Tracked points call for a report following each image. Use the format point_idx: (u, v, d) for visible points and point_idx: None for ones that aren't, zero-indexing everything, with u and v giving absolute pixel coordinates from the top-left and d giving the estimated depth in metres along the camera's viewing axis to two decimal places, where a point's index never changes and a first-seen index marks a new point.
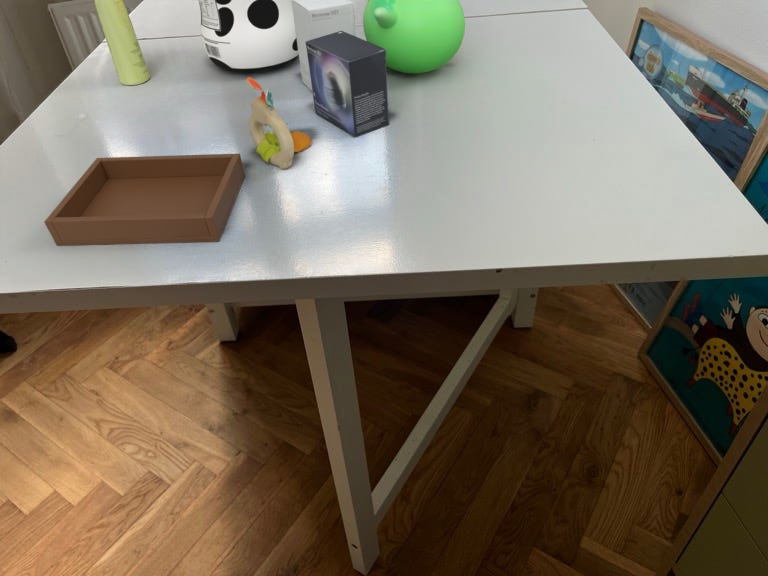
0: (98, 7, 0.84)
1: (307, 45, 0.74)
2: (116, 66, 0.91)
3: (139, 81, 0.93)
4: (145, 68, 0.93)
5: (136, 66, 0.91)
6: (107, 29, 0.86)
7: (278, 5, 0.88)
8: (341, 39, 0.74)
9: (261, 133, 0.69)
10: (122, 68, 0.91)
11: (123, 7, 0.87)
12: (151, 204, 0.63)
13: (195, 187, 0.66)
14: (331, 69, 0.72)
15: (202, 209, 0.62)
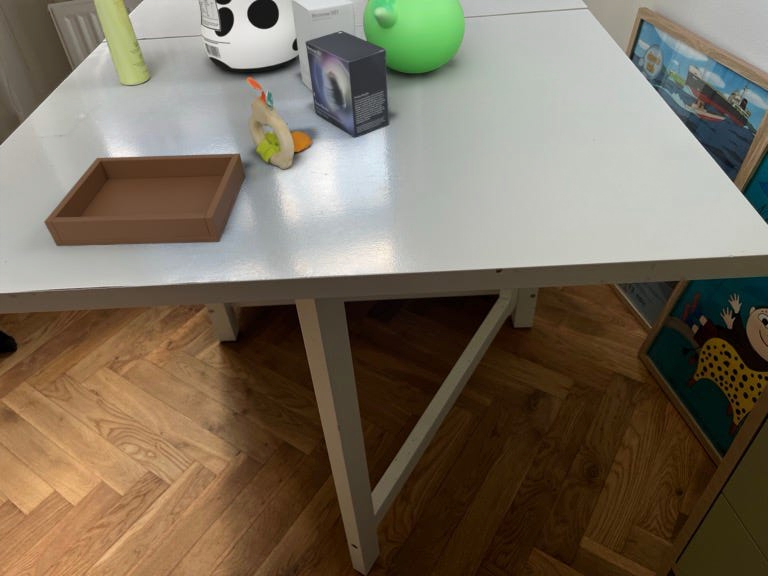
0: (98, 7, 0.84)
1: (307, 45, 0.74)
2: (116, 66, 0.91)
3: (139, 81, 0.93)
4: (145, 68, 0.93)
5: (136, 66, 0.91)
6: (106, 29, 0.86)
7: (278, 5, 0.88)
8: (341, 39, 0.74)
9: (261, 133, 0.69)
10: (122, 68, 0.91)
11: (123, 7, 0.87)
12: (151, 204, 0.63)
13: (195, 187, 0.66)
14: (331, 69, 0.72)
15: (202, 209, 0.62)
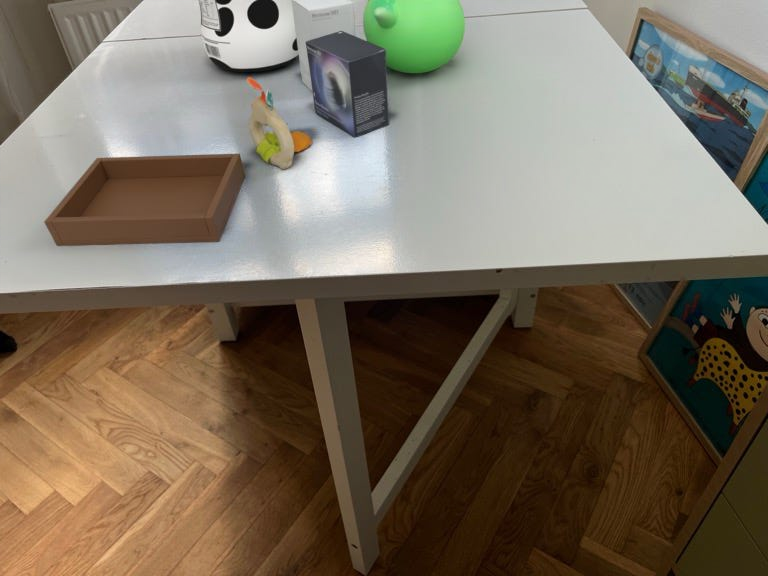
0: None
1: (307, 45, 0.74)
2: None
3: None
4: None
5: None
6: None
7: (278, 5, 0.88)
8: (341, 39, 0.74)
9: (261, 133, 0.69)
10: None
11: None
12: (151, 204, 0.63)
13: (195, 187, 0.66)
14: (331, 69, 0.72)
15: (202, 209, 0.62)
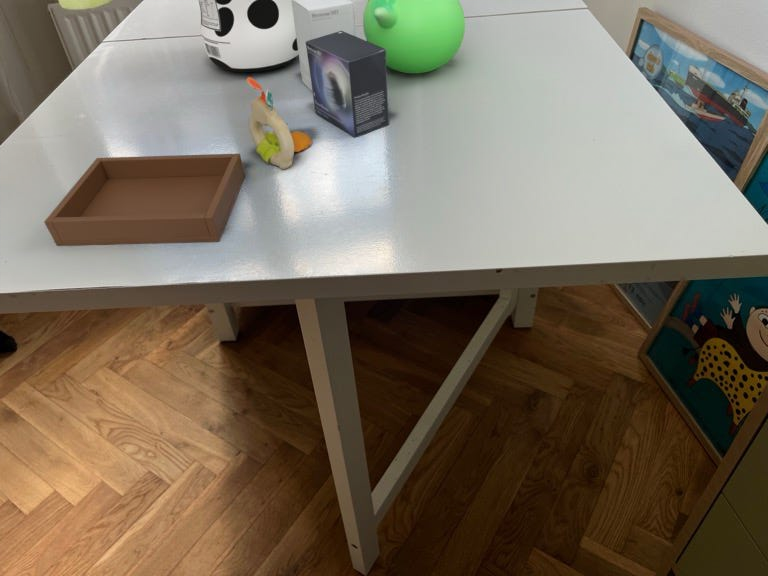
0: None
1: (307, 45, 0.74)
2: None
3: (94, 3, 0.52)
4: None
5: None
6: None
7: (278, 5, 0.88)
8: (341, 39, 0.74)
9: (261, 133, 0.69)
10: None
11: None
12: (151, 204, 0.63)
13: (195, 187, 0.66)
14: (331, 69, 0.72)
15: (202, 209, 0.62)
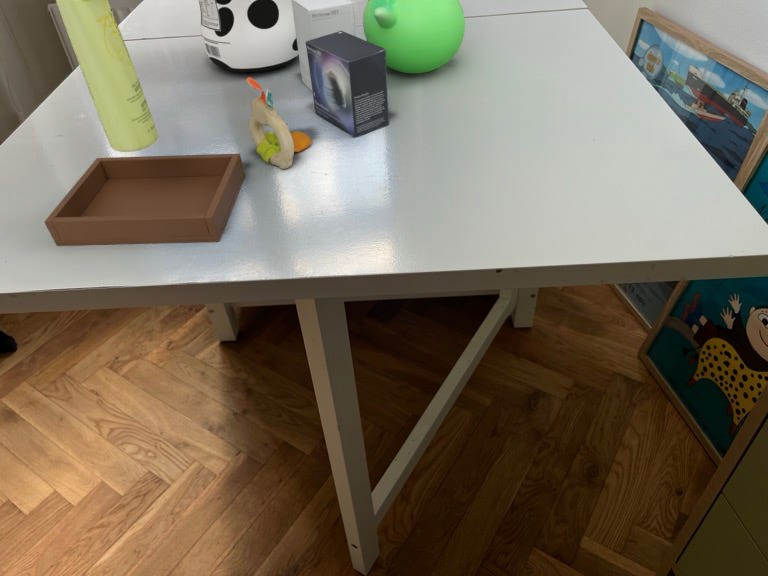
0: (69, 28, 0.48)
1: (307, 45, 0.74)
2: (103, 123, 0.55)
3: (142, 145, 0.57)
4: (151, 124, 0.57)
5: (136, 122, 0.55)
6: (85, 64, 0.50)
7: (278, 5, 0.88)
8: (341, 39, 0.74)
9: (261, 133, 0.69)
10: (114, 126, 0.55)
11: (113, 26, 0.51)
12: (151, 204, 0.63)
13: (195, 187, 0.66)
14: (331, 69, 0.72)
15: (202, 209, 0.62)
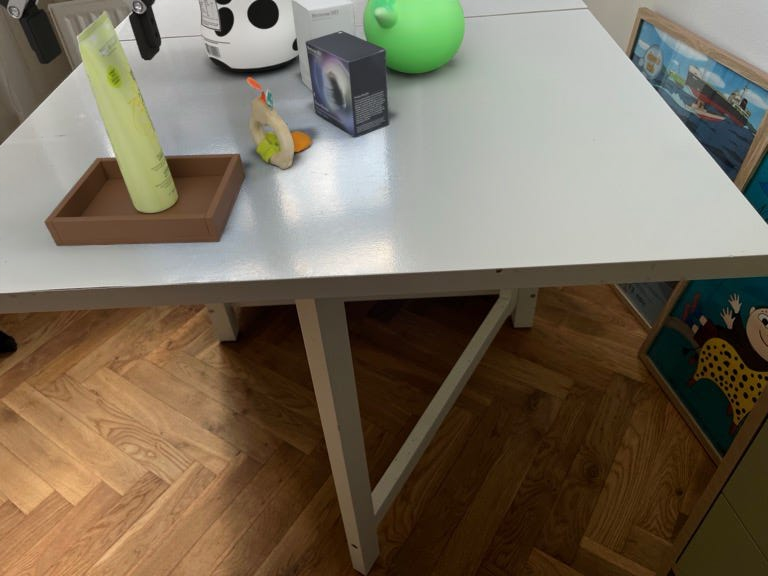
0: (102, 110, 0.53)
1: (307, 45, 0.74)
2: (129, 188, 0.60)
3: (163, 207, 0.62)
4: (172, 187, 0.62)
5: (159, 188, 0.60)
6: (115, 140, 0.55)
7: (278, 5, 0.88)
8: (341, 39, 0.74)
9: (261, 133, 0.69)
10: (139, 192, 0.60)
11: (141, 105, 0.56)
12: None
13: (195, 187, 0.66)
14: (331, 69, 0.72)
15: (202, 209, 0.62)
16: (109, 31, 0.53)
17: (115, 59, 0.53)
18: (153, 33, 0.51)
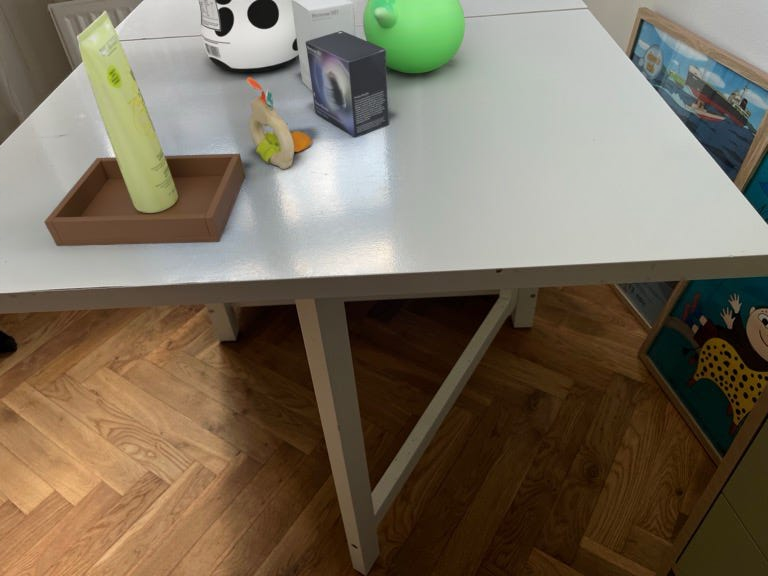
0: (102, 110, 0.53)
1: (307, 45, 0.74)
2: (129, 188, 0.60)
3: (163, 207, 0.62)
4: (172, 187, 0.62)
5: (159, 188, 0.60)
6: (115, 140, 0.55)
7: (278, 5, 0.88)
8: (341, 39, 0.74)
9: (261, 133, 0.69)
10: (139, 192, 0.60)
11: (141, 105, 0.56)
12: None
13: (195, 187, 0.66)
14: (331, 69, 0.72)
15: (202, 209, 0.62)
16: (109, 31, 0.53)
17: (115, 59, 0.53)
18: None
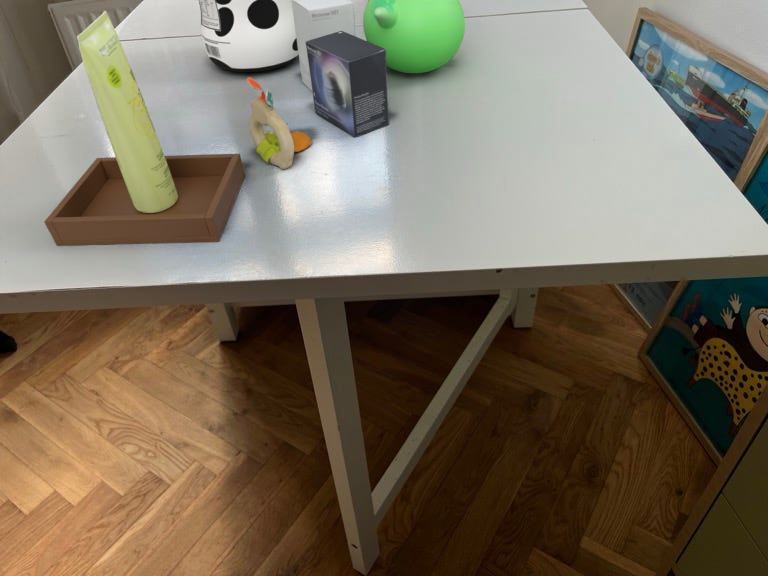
0: (102, 110, 0.53)
1: (307, 45, 0.74)
2: (129, 188, 0.60)
3: (163, 207, 0.62)
4: (172, 187, 0.62)
5: (159, 188, 0.60)
6: (115, 140, 0.55)
7: (278, 5, 0.88)
8: (341, 39, 0.74)
9: (261, 133, 0.69)
10: (139, 192, 0.60)
11: (141, 105, 0.56)
12: None
13: (195, 187, 0.66)
14: (331, 69, 0.72)
15: (202, 209, 0.62)
16: (109, 31, 0.53)
17: (115, 59, 0.53)
18: None
